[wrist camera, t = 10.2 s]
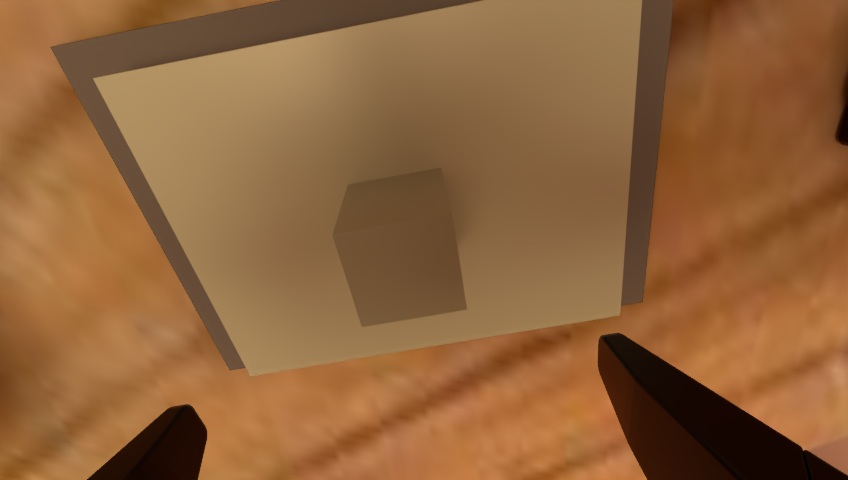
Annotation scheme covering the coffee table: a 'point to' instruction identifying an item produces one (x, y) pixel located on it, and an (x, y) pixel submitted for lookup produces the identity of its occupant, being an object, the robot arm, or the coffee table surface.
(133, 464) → the robot arm
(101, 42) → the mat
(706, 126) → the coffee table surface
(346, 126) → the lid
